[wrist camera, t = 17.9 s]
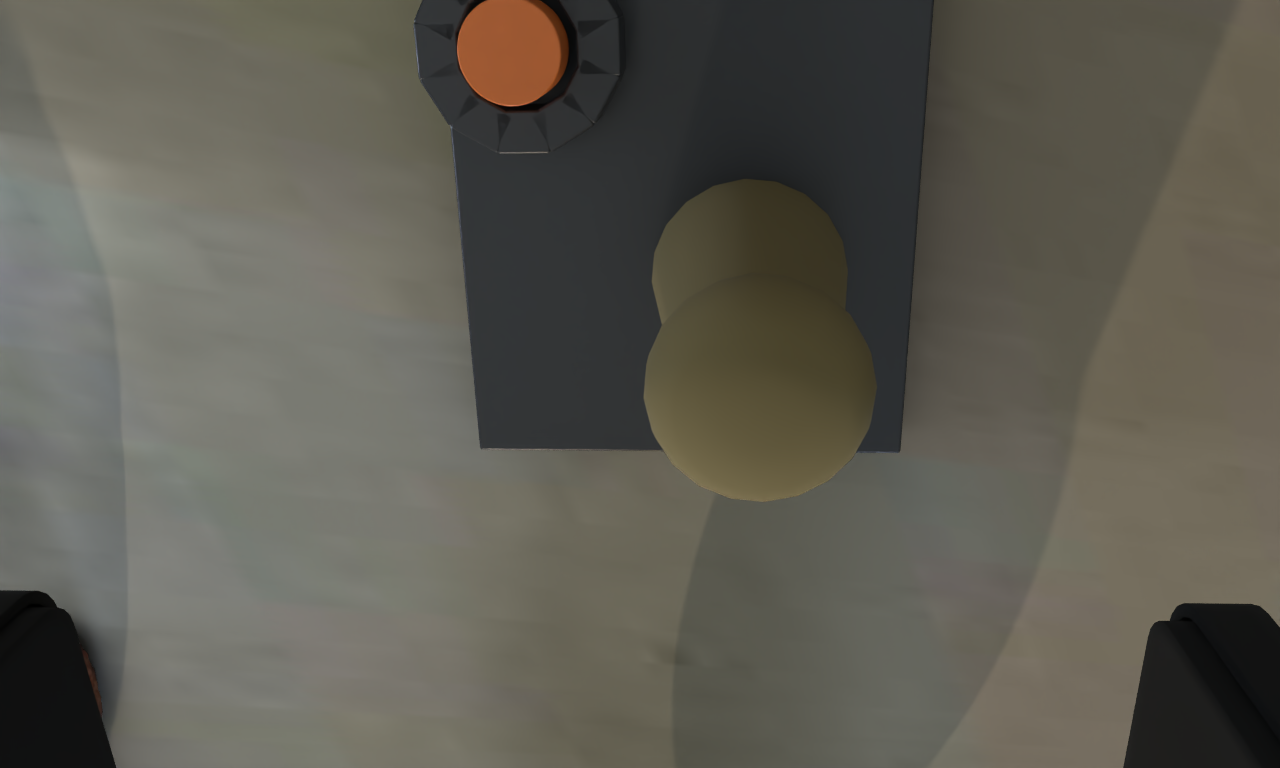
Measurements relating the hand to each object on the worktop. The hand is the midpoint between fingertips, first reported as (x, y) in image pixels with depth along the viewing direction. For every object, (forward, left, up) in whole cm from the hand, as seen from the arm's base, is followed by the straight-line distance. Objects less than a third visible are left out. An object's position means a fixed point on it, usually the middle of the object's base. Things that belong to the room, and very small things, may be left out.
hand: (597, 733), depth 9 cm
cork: (+3, +2, -24) cm, 24 cm away
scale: (+1, 0, -26) cm, 26 cm away
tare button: (-4, -5, -23) cm, 23 cm away
